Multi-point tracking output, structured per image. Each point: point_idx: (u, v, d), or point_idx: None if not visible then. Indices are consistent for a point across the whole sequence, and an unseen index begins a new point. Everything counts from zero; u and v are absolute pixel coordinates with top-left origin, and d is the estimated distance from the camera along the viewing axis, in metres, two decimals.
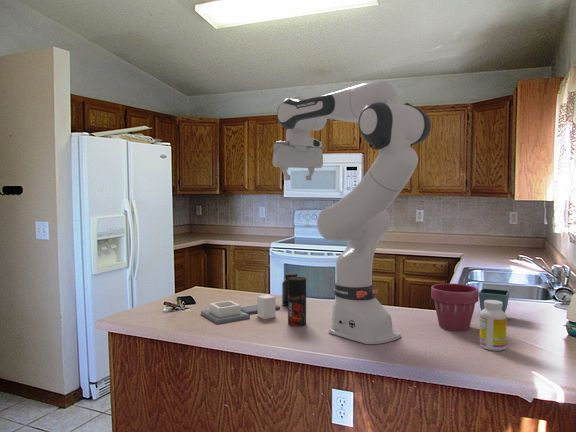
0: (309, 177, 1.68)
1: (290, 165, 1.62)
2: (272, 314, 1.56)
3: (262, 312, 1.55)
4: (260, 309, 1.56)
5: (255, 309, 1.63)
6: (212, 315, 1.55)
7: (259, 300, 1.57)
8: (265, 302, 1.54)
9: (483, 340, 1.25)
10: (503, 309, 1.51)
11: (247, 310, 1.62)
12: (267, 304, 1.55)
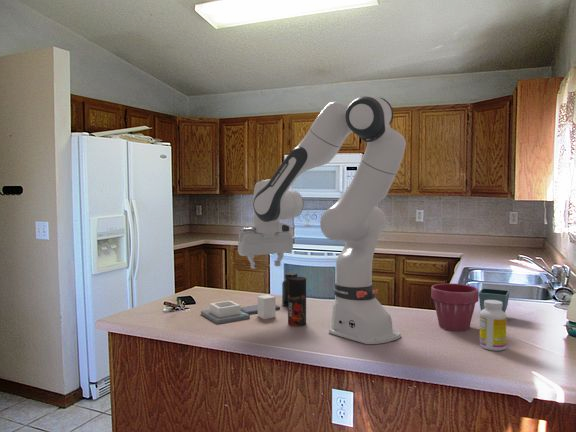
0: (278, 263, 1.58)
1: (256, 253, 1.53)
2: (272, 314, 1.56)
3: (262, 312, 1.55)
4: (260, 309, 1.56)
5: (255, 309, 1.63)
6: (212, 315, 1.55)
7: (259, 300, 1.57)
8: (265, 302, 1.54)
9: (483, 340, 1.25)
10: (503, 309, 1.51)
11: (247, 310, 1.62)
12: (267, 304, 1.55)
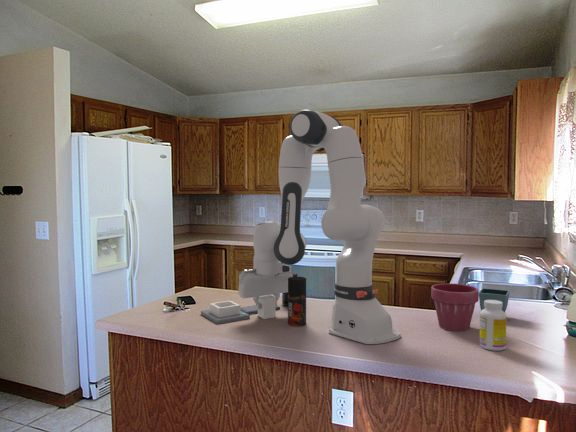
0: None
1: (257, 295, 1.53)
2: (272, 313, 1.56)
3: (262, 312, 1.55)
4: (260, 309, 1.56)
5: (255, 309, 1.63)
6: (212, 315, 1.55)
7: (259, 300, 1.57)
8: (265, 302, 1.55)
9: (483, 340, 1.25)
10: (503, 309, 1.51)
11: (247, 310, 1.62)
12: (267, 304, 1.55)
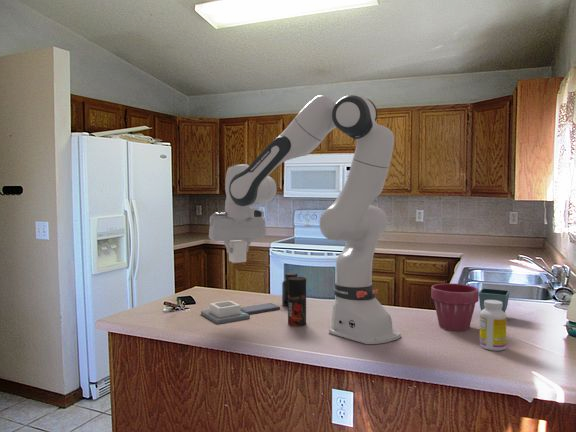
0: None
1: (227, 238, 1.52)
2: (243, 258, 1.55)
3: (233, 256, 1.55)
4: (231, 253, 1.56)
5: (255, 309, 1.63)
6: (212, 315, 1.55)
7: (230, 244, 1.56)
8: (236, 246, 1.54)
9: (483, 340, 1.25)
10: (503, 309, 1.51)
11: (247, 310, 1.62)
12: (238, 248, 1.54)
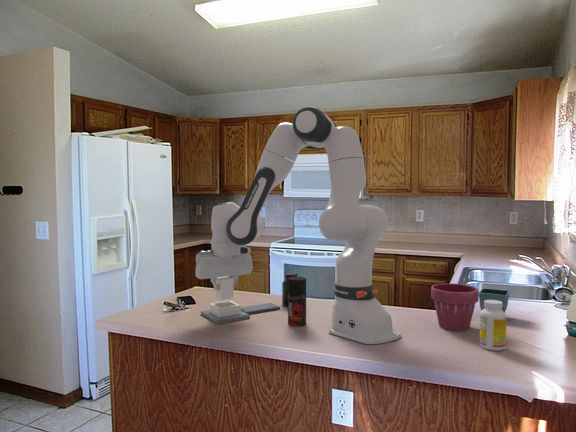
0: None
1: (214, 276, 1.53)
2: (230, 295, 1.56)
3: (220, 293, 1.55)
4: (218, 290, 1.56)
5: (255, 309, 1.63)
6: (212, 315, 1.55)
7: (217, 281, 1.57)
8: (222, 283, 1.55)
9: (483, 340, 1.25)
10: (503, 309, 1.51)
11: (247, 310, 1.62)
12: (225, 285, 1.55)
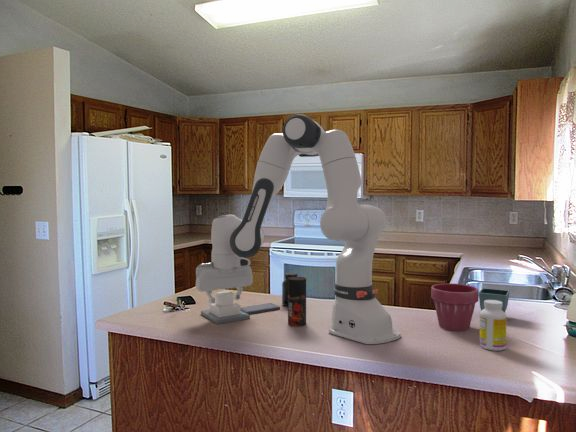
0: (237, 297, 1.59)
1: (214, 288, 1.53)
2: None
3: None
4: (218, 305, 1.57)
5: (255, 309, 1.63)
6: (212, 315, 1.55)
7: (217, 296, 1.57)
8: (223, 298, 1.55)
9: (483, 340, 1.25)
10: (503, 309, 1.51)
11: (247, 310, 1.62)
12: (225, 300, 1.55)
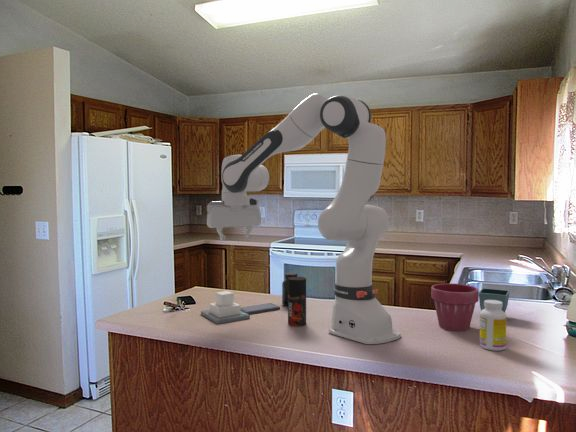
0: (246, 236, 1.65)
1: (225, 226, 1.59)
2: None
3: None
4: (218, 305, 1.57)
5: (255, 309, 1.63)
6: (212, 315, 1.55)
7: (217, 296, 1.57)
8: (223, 298, 1.55)
9: (483, 340, 1.25)
10: (503, 309, 1.51)
11: (247, 310, 1.62)
12: (225, 300, 1.55)
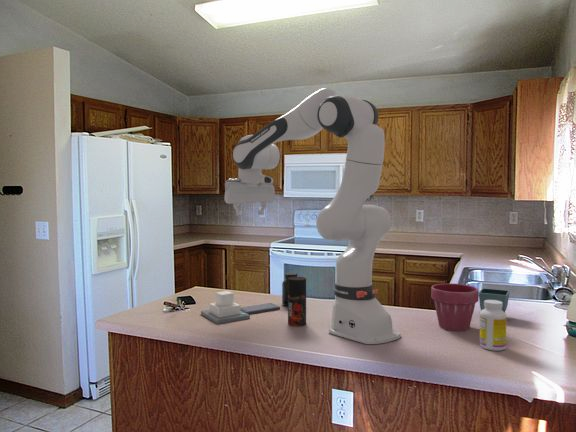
0: (261, 212, 1.75)
1: (241, 201, 1.70)
2: None
3: None
4: (218, 305, 1.57)
5: (255, 309, 1.63)
6: (212, 315, 1.55)
7: (217, 296, 1.57)
8: (223, 298, 1.55)
9: (483, 340, 1.25)
10: (503, 309, 1.51)
11: (247, 310, 1.62)
12: (225, 300, 1.55)
